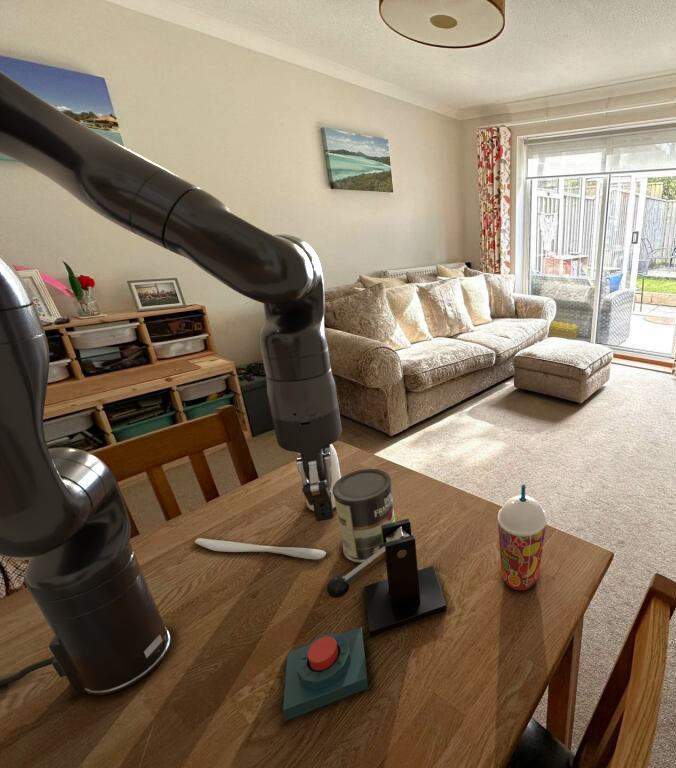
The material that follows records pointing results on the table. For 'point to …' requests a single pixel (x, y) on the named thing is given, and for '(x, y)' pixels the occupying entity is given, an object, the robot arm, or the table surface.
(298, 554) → the butter knife
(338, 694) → the button block
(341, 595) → the lever
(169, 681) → the table surface
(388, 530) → the bracket
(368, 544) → the coffee can
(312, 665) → the button
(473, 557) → the table surface
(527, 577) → the smoothie
